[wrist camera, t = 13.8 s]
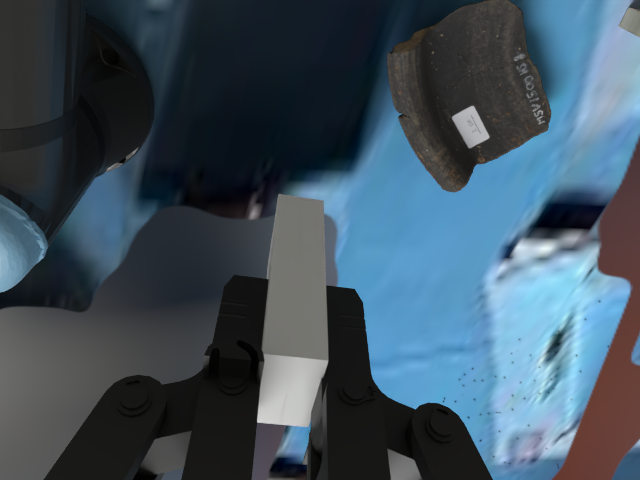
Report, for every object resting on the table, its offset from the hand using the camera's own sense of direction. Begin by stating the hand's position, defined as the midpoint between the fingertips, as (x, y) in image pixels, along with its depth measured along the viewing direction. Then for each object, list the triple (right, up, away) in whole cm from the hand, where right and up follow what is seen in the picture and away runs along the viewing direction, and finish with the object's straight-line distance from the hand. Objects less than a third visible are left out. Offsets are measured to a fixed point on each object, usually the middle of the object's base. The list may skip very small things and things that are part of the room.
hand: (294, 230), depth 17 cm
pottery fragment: (+16, +15, +27) cm, 35 cm away
